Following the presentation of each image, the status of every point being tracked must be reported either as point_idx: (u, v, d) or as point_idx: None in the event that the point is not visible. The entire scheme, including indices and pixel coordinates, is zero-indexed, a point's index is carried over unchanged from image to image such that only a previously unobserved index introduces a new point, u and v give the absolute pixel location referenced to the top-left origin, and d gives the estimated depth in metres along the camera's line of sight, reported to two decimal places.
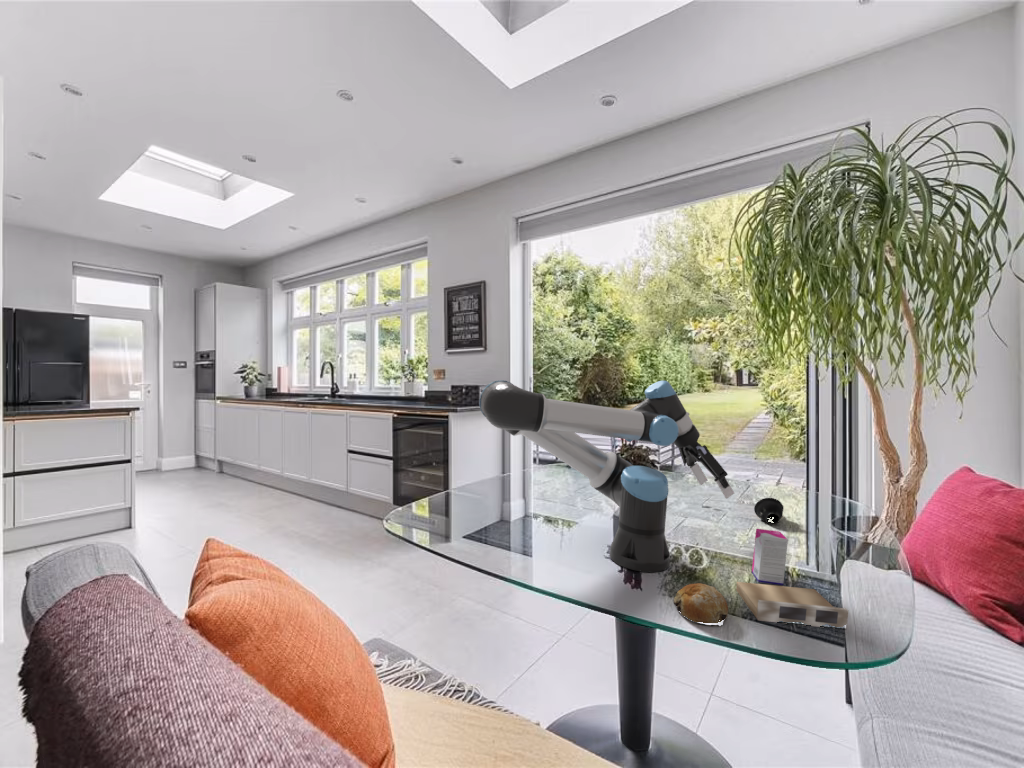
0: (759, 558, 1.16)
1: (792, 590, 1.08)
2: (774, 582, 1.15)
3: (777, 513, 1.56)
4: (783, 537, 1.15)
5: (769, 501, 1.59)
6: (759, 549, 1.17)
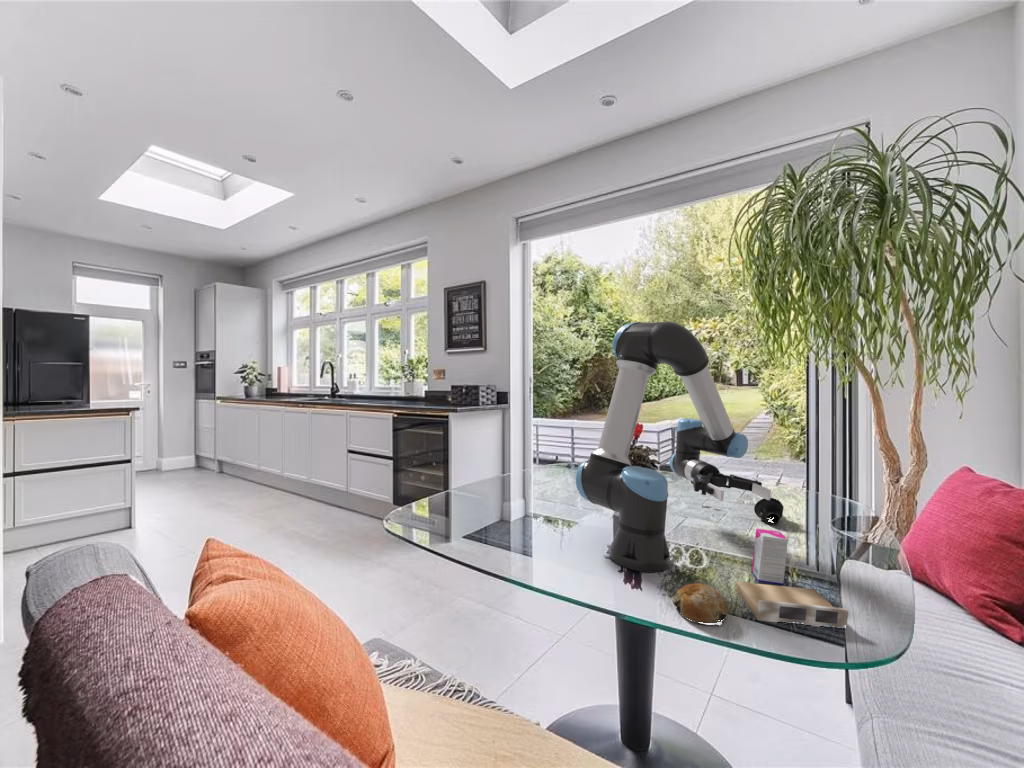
0: (759, 558, 1.16)
1: (792, 590, 1.08)
2: (774, 582, 1.15)
3: (777, 513, 1.56)
4: (783, 537, 1.15)
5: (769, 501, 1.59)
6: (759, 549, 1.17)
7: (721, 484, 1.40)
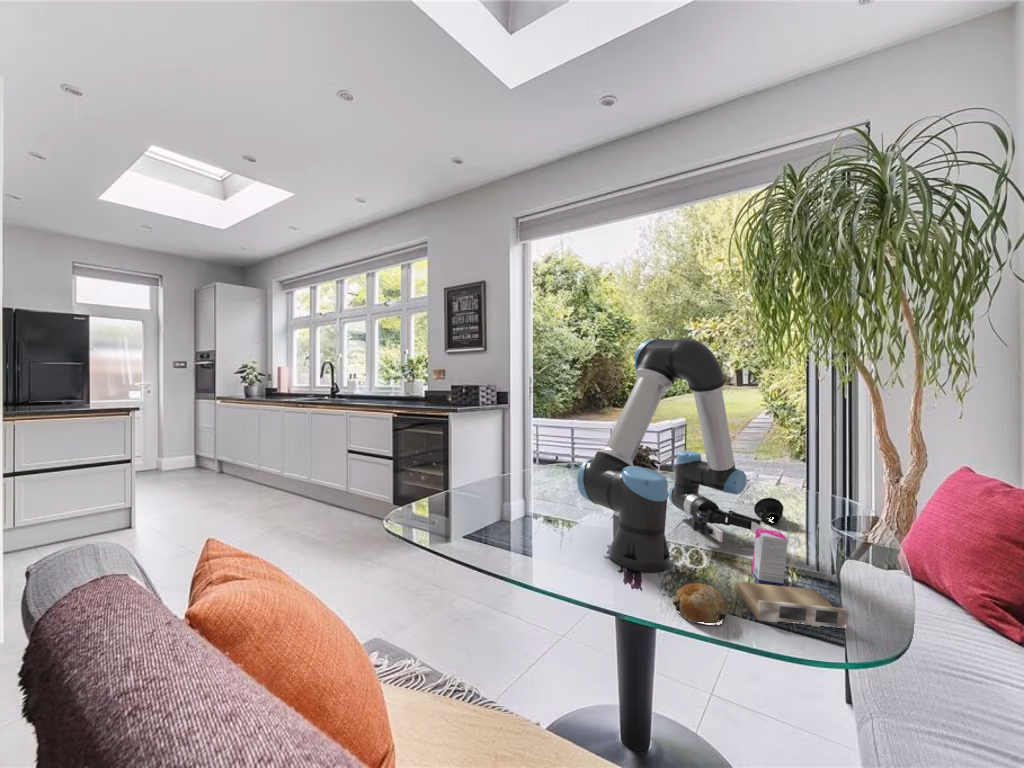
0: (759, 558, 1.16)
1: (792, 590, 1.08)
2: (774, 582, 1.15)
3: (777, 513, 1.56)
4: (783, 537, 1.15)
5: (769, 501, 1.59)
6: (759, 549, 1.17)
7: (720, 521, 1.40)
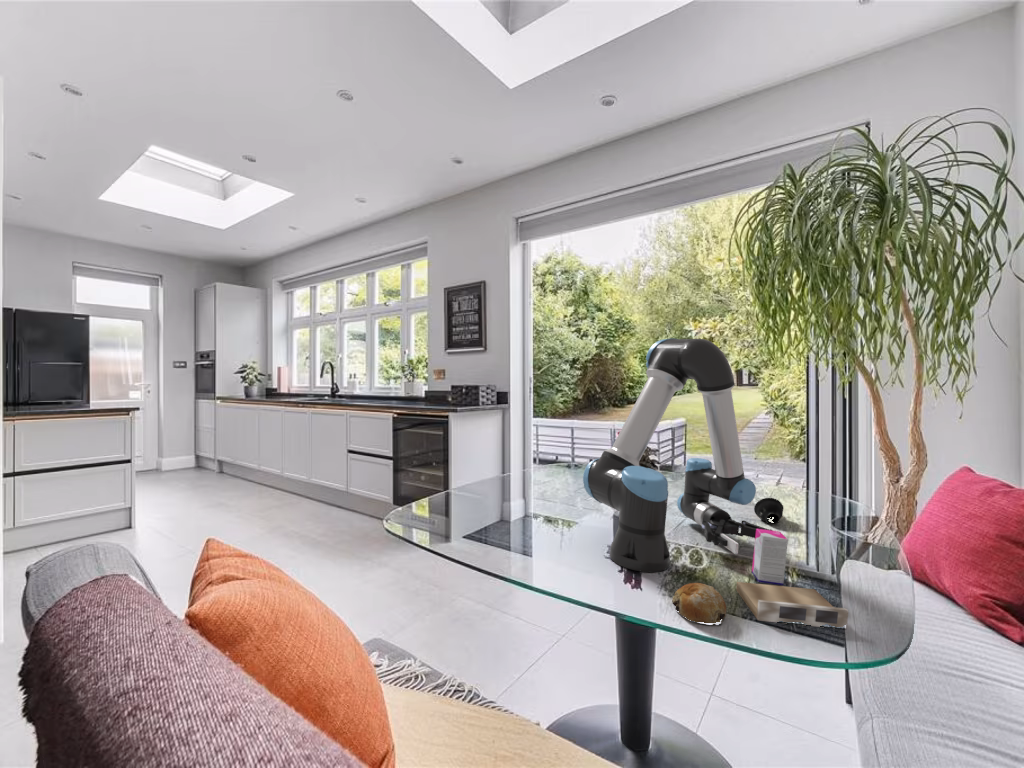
0: (759, 558, 1.16)
1: (792, 590, 1.08)
2: (774, 582, 1.15)
3: (777, 513, 1.56)
4: (783, 537, 1.15)
5: (769, 501, 1.59)
6: (759, 549, 1.17)
7: (733, 532, 1.34)
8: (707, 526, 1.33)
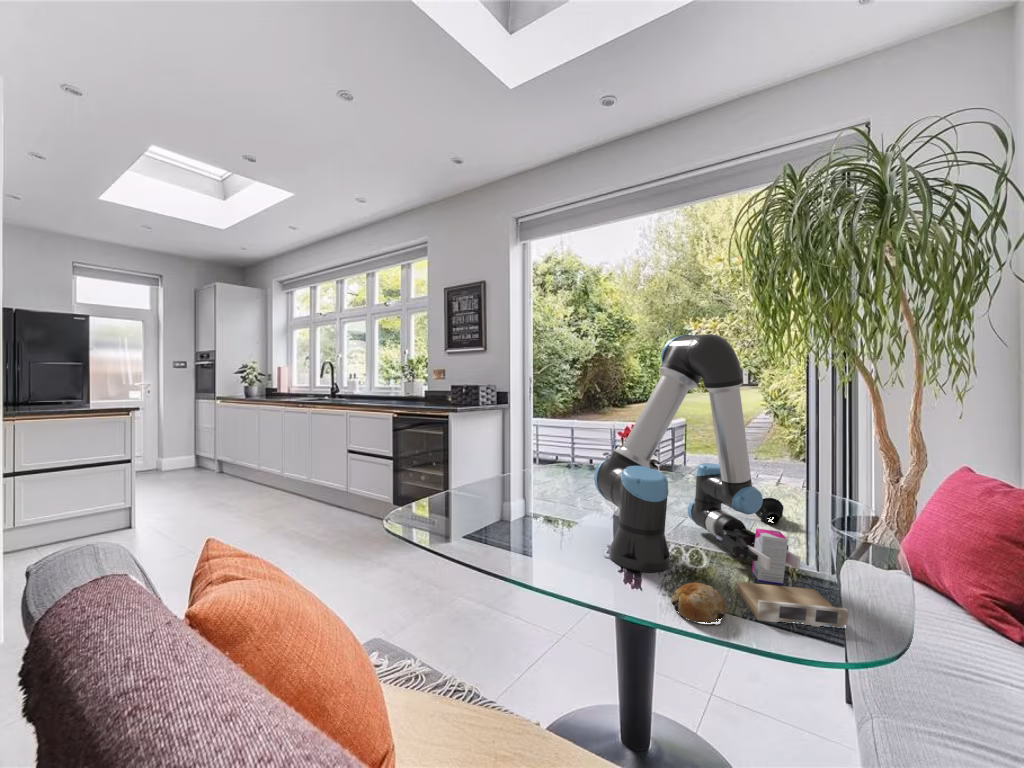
0: None
1: (792, 590, 1.08)
2: (774, 582, 1.15)
3: (777, 513, 1.56)
4: (783, 537, 1.15)
5: (769, 501, 1.59)
6: (759, 549, 1.17)
7: (748, 542, 1.27)
8: (728, 538, 1.24)
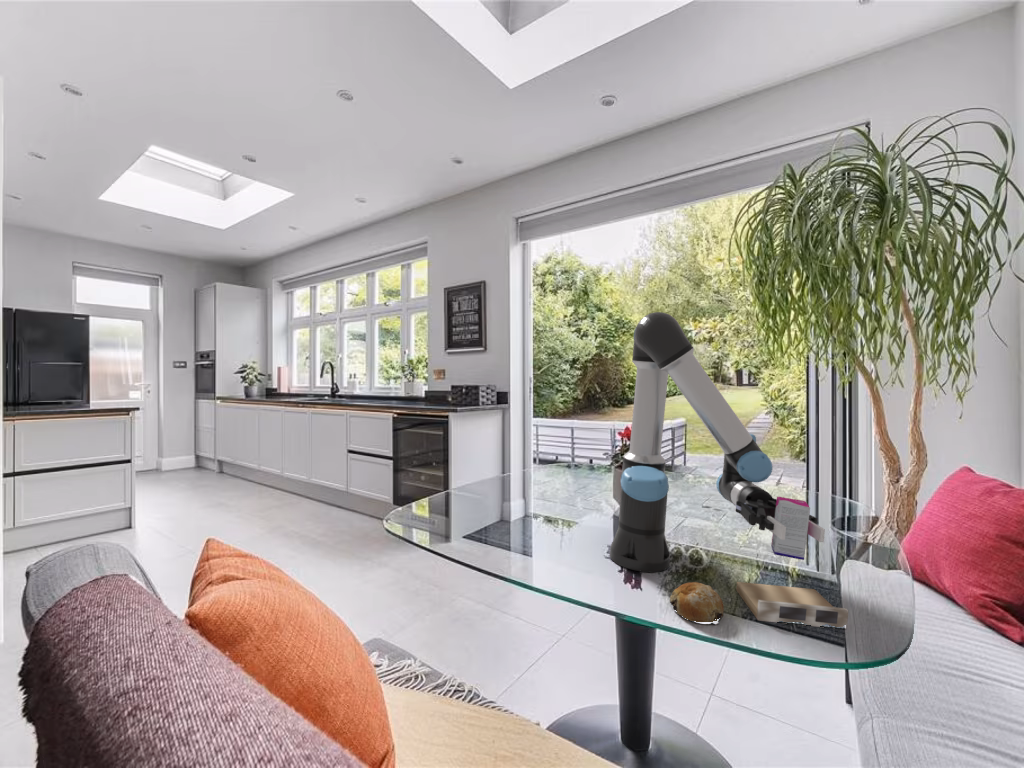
0: None
1: (792, 590, 1.08)
2: (793, 555, 1.02)
3: None
4: (805, 505, 1.01)
5: None
6: (777, 518, 1.04)
7: (772, 514, 1.13)
8: (746, 507, 1.12)
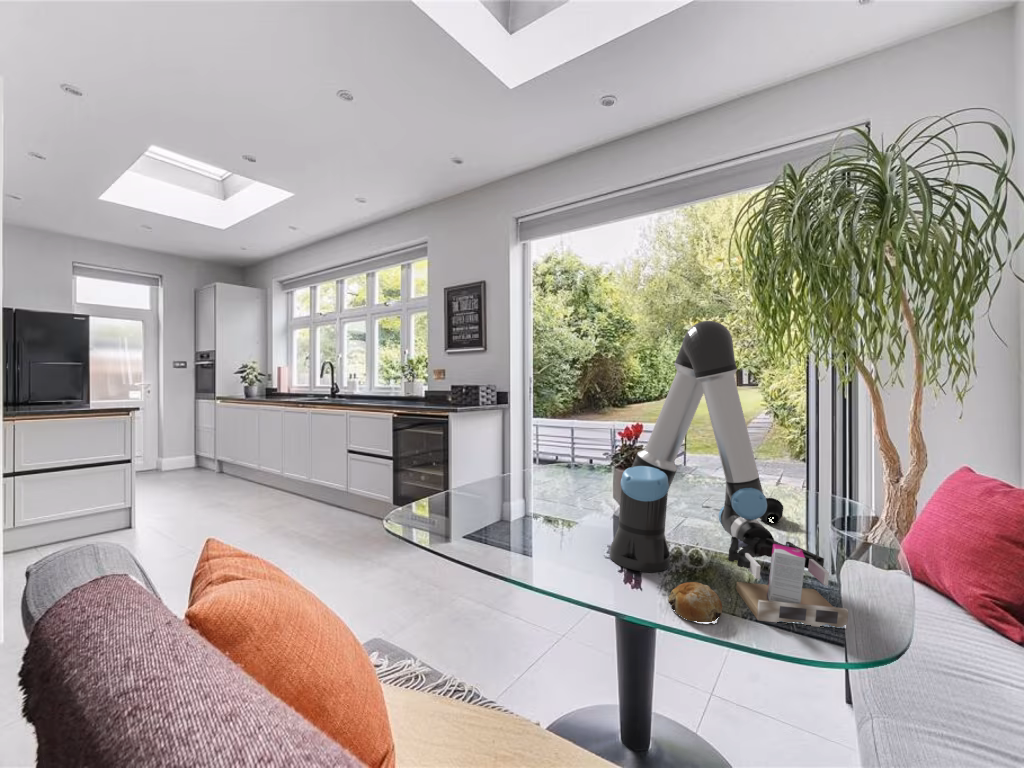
0: (771, 577, 1.02)
1: None
2: None
3: (777, 513, 1.56)
4: (801, 555, 1.00)
5: (769, 501, 1.59)
6: (772, 567, 1.02)
7: (769, 554, 1.11)
8: (734, 543, 1.12)
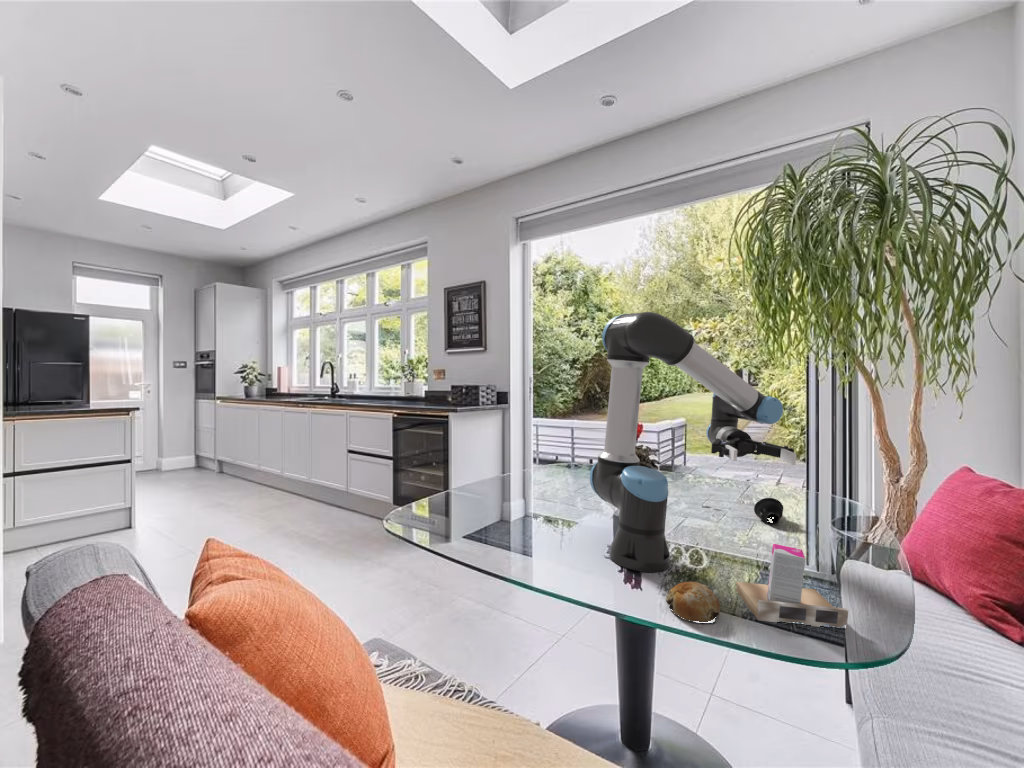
0: (771, 577, 1.02)
1: None
2: None
3: (777, 513, 1.56)
4: (801, 555, 1.00)
5: (769, 501, 1.59)
6: (772, 567, 1.02)
7: (748, 450, 1.28)
8: (717, 441, 1.29)
